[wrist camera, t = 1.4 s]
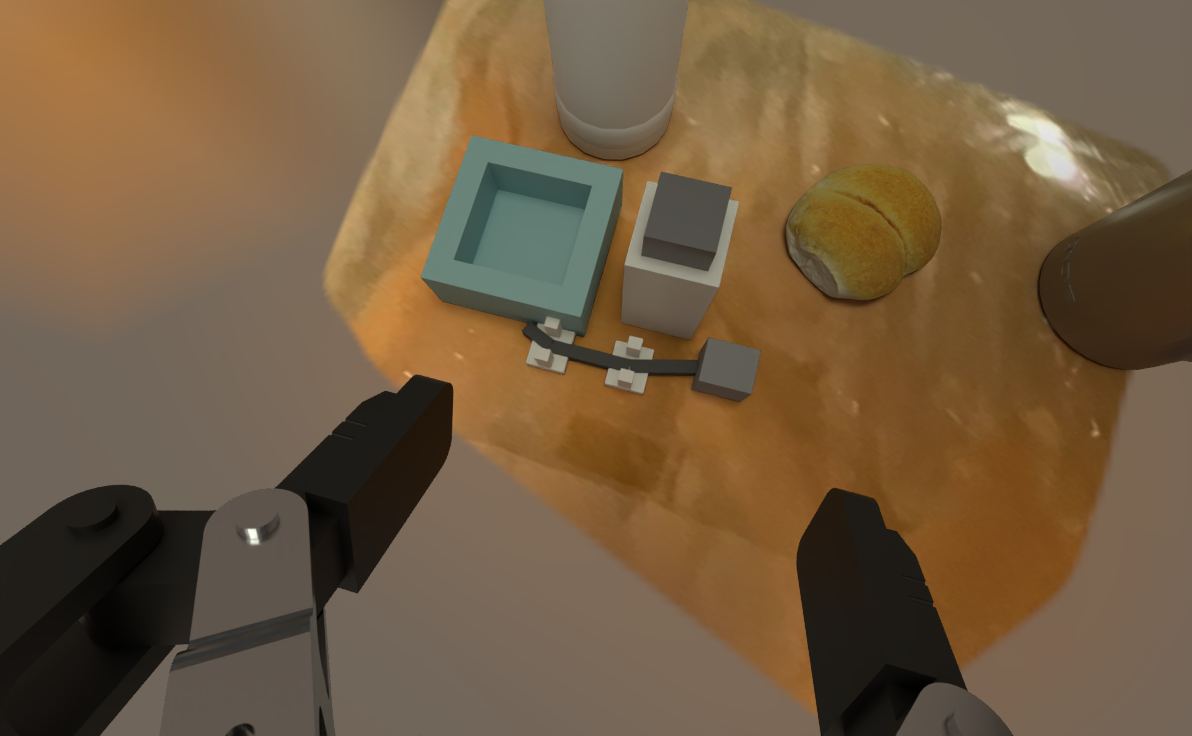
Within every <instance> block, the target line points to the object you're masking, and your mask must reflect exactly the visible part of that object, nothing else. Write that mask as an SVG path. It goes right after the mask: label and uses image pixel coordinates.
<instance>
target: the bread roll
mask: <svg viewBox="0 0 1192 736" xmlns="http://www.w3.org/2000/svg"><path fill="white" fill-rule="evenodd" d="M940 235H941V216H940V213H939V209H938V207H937V205H936V202H935V200H934V198H933V196H932V194H931V193H930V191H929V190H928V189H927V187H926V186H925V185H924V184H923V183H922V182H921V181H920V180H919V179H918V178H917V177H916V176H914V175H913V174H911V173H909V172H908V171H905V170H903V169H900V168H897V167H893V166H888V165H860V166H854V167H849V168H845V169H841V170H839V171H836V172H834V173H832V174H829V175H828V176H826V177H824V178H823V179H821V180H820V181H819V182H817V183H816V184H815V185H814V186H813V187H812V188H811V189H810V190H809V191H808V192H807V193H805V194H804V195H803V197H802V198H801V199H800V200H799V201H798V202H797V204H796V205H795V207H794V208H793V210H792V212H791V214H790V216H789V219H788V222H787V224H786V240H787V245H788V250H789V254H790V256H791V257H792V259H793V260H794V261H795V262H796V264H797V265H798V266H799V267H800V269H801V271H802V272H803V274H804V275H805V276H806V277H807V278H808V279H809V280H810V281H811V282H812V283H813V284H814V285H816V286H817V287H818V288H819V289H820V290H821V291H823V292H824V293H825V294H827V295H829V296H831V297H834V298H846V299H855V300H870V299H874V298H877V297H880V296H883V295H886V294H888V293H890V292H891V291H893V290H894V289H895V288H896V287H897V286H898V285H899V284H900V282H901V280H902V278H903V277H904V276H905V275H907V274H909V273H912V272H914V271H916V270H918V269H920V268H921V267H923V266H925V265H926V264H927V263H928V262H929V261H930V260H931V259H932V257H933V256H934V254H935V252H936V250H937V248H938V245H939V241H940Z"/></svg>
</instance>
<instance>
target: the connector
mask: <svg viewBox="0 0 1192 736" xmlns="http://www.w3.org/2000/svg"><path fill="white" fill-rule="evenodd" d="M731 190H732V187H727V186H723V185H718V184H714V183H709V182H705V181H700V180H696V179H691V178H687V177H683V176H678V175H674V174H669V173H665V172H661V174H660V178H659V181H658V183H654V182H649V181H647V184H646V188H645V192H644V195H643V199H642V203H641V206H640V210H639V213H638V217H637V221H636V224H635V228H634V232H633V235H632V239H631V242H630V246H629V250H628V253H627V257H626V260H625V264H624V278H623V295H622V312H621V323H623V324H627V325H631V326H635V327H639V328H644V329H648V330H652V331H656V332H660V333H664V334H668V335H672V336H676V337H680V338H684V339H688V340H691V338H692V336H693V335H694V333H695V331H696V329H697V327H698V325H699V323H700V322H701V320H702V318H703V316H704V314H705V312H706V311H707V309H708V307H709V305H710V303H711V301H712V299H713V298H714V296H715V294H716V292H717V290H718V288H719V285H720V281H721V276H722V272H723V268H724V264H725V259H726V255H727V251H728V247H729V242H730V238H731V234H732V229H733V225H734V221H735V217H736V212H737V208H738V204H739V202H738V201H734V200H729V198H730V194H731Z"/></svg>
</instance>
